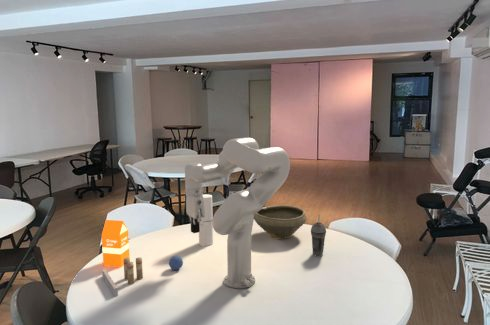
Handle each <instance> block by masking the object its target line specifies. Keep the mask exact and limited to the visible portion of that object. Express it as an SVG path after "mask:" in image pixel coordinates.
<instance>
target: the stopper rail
mask: <svg viewBox="0 0 490 325" xmlns="http://www.w3.org/2000/svg"><path fill="white" fill-rule="evenodd" d="M101 273H102V278H103V280H104V281H105V283H106V284H107V286H108V288H109V289H110V291H111V293H112V294H113V296H114V297H118V296H119V292H118V290H119V289H118V287H117V285H116V283H115V282H114V280H113V279H112V277H111V276H110V274H109V273H108V271H107V270H106V268H104V269H102V272H101Z"/></svg>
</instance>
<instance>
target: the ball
mask: <svg viewBox="0 0 490 325" xmlns="http://www.w3.org/2000/svg"><path fill="white" fill-rule="evenodd" d="M183 264H184V261H183V258H182V257H181V256H180V255H173V256H171V257H170V259H169V261H168V265H169V267H170V269H172V270H175V271H178V270H179V269H181V268H182V266H184V265H183Z"/></svg>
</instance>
